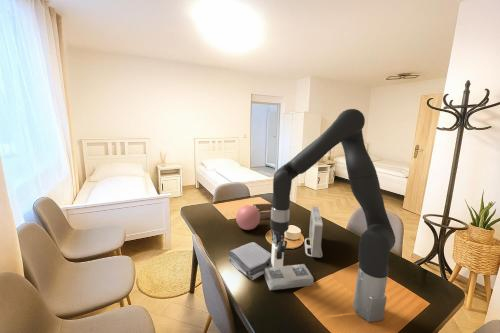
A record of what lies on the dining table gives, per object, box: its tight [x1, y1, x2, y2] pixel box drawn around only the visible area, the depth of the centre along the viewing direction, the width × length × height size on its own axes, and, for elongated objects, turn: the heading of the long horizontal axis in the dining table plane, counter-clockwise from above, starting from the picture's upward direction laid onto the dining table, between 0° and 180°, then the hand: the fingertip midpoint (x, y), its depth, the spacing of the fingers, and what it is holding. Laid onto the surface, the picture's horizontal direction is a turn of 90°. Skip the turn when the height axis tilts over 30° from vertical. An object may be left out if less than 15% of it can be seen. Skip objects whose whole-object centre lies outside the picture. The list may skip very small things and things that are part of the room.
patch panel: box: [263, 263, 314, 291], centre depth 98 cm, size 10×19×4 cm, turn 101°
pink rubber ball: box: [235, 204, 261, 231], centre depth 145 cm, size 15×20×15 cm
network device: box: [304, 206, 324, 258], centre depth 123 cm, size 26×9×20 cm, turn 168°
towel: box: [228, 241, 273, 281], centre depth 107 cm, size 15×18×8 cm
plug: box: [270, 242, 285, 268], centre depth 95 cm, size 4×4×10 cm
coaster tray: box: [252, 202, 272, 220], centre depth 169 cm, size 16×16×5 cm
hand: (277, 255), depth 95 cm, fingers closed on plug, 4 cm apart
